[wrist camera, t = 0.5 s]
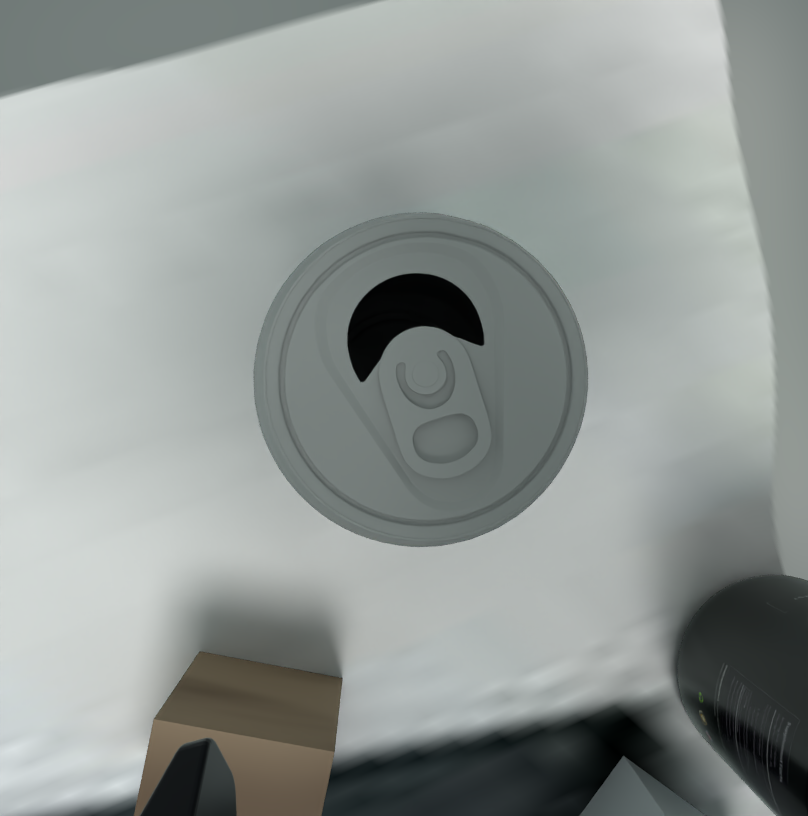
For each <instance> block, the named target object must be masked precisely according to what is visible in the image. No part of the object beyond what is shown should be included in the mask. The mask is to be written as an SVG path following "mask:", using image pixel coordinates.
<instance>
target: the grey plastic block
mask: <svg viewBox="0 0 808 816" xmlns="http://www.w3.org/2000/svg"><path fill="white" fill-rule="evenodd" d="M580 816H705V815H704V814H703V813H701V812H700V811H699V810H697V809H696V808H694V807H693V806H692V805H690V804H689V803H688V802H686V801H685V800H683V799H682V798H681V797H679V796H678V795H677V794H675V793H674V792H672V791H671V790H670V789H668V788H667V787H666V786H664V785H663V784H662V783H660V782H659V781H657V780H656V779H655V778H653V777H652V776H651V775H649V774H648V773H646V772H645V771H644V770H642V769H641V768H640V767H638V766H637V765H635V764H634V763H633V762H631V761H630V760H629V759H627V758H626V757H625V756H623V757H622V759H621V760H620V761H619V763H618V764H617V765H616V767H615V768H614V769H613V771H612V772H611V773H610V775H609V776H608V778H607V779H606V780H605V782H604V783H603V784H602V786H601V787H600V788H599V790H598V791H597V793H596V794H595V795H594V797H593V798H592V799H591V801H590V802H589V803H588V805H587V806H586V808H585V809H584V810H583V812H582V813H581V814H580Z"/></svg>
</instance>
